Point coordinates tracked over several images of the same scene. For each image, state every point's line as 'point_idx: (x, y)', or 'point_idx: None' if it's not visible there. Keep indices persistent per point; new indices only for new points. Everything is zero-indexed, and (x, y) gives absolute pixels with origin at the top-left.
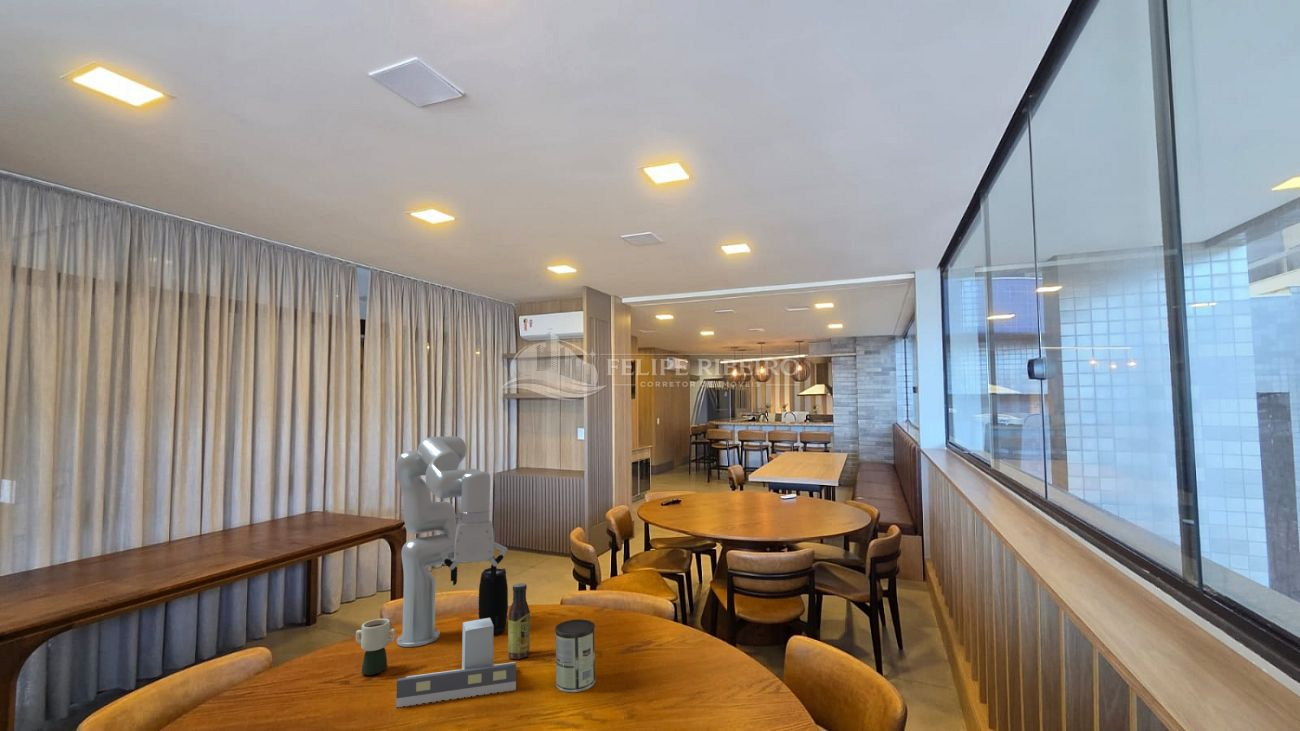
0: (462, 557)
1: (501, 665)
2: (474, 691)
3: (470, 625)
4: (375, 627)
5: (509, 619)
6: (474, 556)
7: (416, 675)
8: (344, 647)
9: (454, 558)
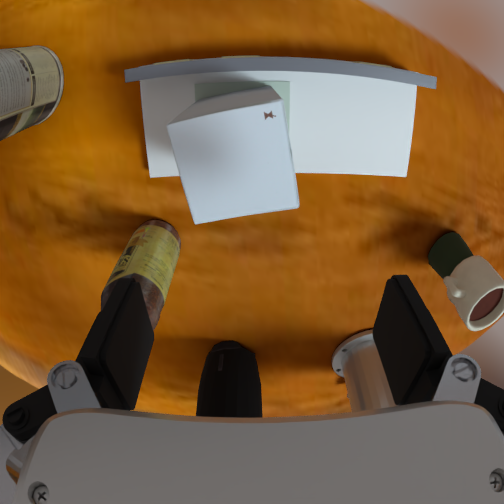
0: (436, 454)
1: (164, 70)
2: None
3: (265, 153)
4: (496, 285)
5: (158, 290)
6: (262, 482)
7: (386, 174)
8: (461, 342)
9: (498, 429)
